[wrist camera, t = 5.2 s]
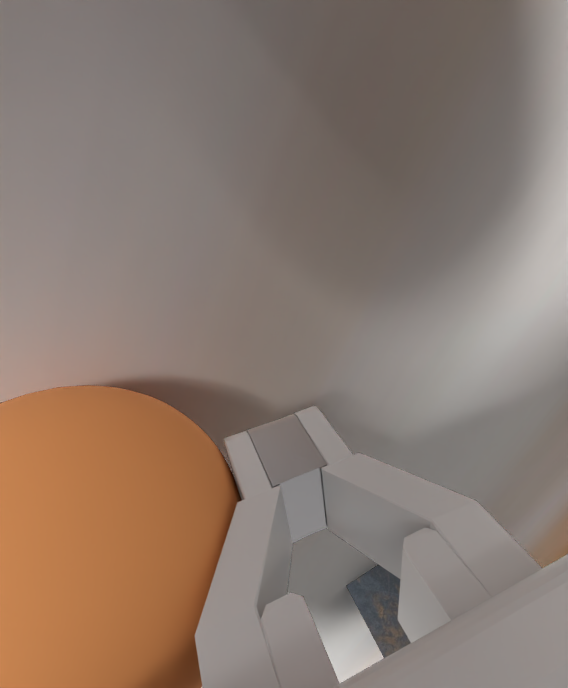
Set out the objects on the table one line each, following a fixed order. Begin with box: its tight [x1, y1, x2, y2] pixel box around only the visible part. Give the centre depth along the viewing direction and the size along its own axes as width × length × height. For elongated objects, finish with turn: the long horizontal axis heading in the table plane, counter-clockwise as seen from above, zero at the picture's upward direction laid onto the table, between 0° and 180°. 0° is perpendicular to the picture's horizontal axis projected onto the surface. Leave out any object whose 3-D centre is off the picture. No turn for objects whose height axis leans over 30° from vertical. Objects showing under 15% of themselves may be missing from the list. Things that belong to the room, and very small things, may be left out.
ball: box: [0, 385, 242, 688], centre depth 7 cm, size 6×6×6 cm
